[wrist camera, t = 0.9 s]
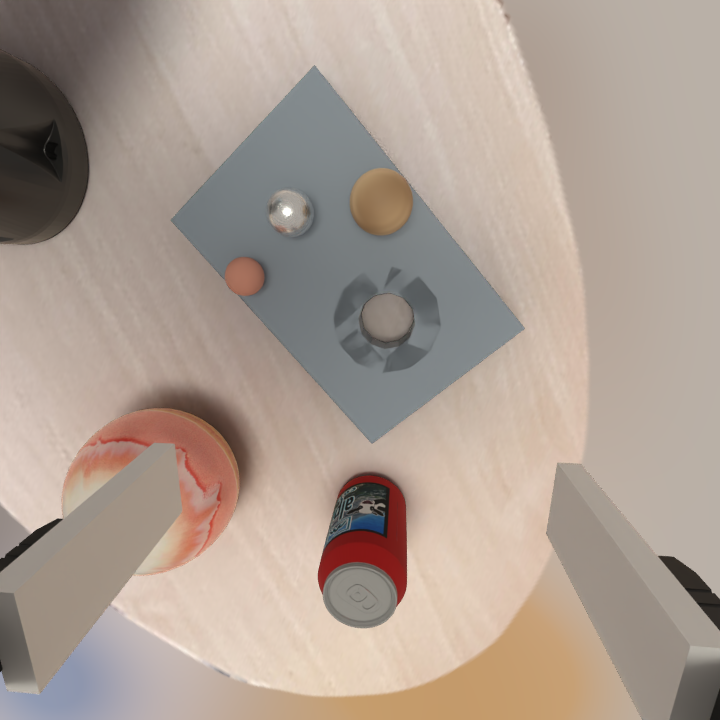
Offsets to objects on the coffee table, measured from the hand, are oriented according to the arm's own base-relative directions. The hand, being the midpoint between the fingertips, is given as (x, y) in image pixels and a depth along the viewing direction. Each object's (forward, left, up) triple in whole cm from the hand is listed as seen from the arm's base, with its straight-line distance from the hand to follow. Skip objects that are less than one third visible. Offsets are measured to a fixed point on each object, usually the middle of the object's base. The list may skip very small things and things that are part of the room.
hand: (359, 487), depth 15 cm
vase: (-4, -22, -24) cm, 33 cm away
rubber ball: (-12, -4, -20) cm, 23 cm away
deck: (-7, +2, -24) cm, 25 cm away
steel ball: (-13, +2, -20) cm, 23 cm away
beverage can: (+11, -11, -24) cm, 29 cm away
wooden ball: (-9, +7, -19) cm, 22 cm away
